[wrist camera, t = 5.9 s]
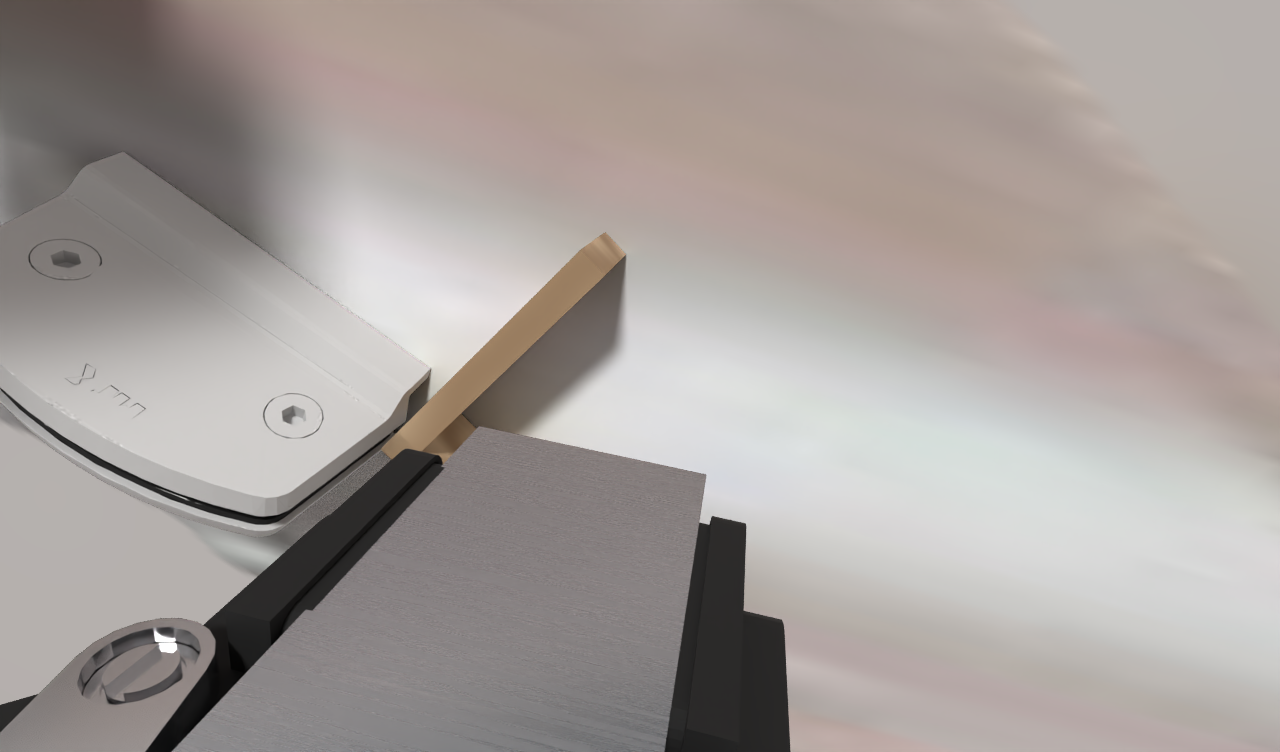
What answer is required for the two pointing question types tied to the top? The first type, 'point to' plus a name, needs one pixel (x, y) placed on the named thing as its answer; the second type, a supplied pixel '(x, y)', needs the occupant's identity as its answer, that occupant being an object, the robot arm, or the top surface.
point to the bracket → (490, 617)
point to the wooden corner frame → (502, 354)
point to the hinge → (187, 355)
